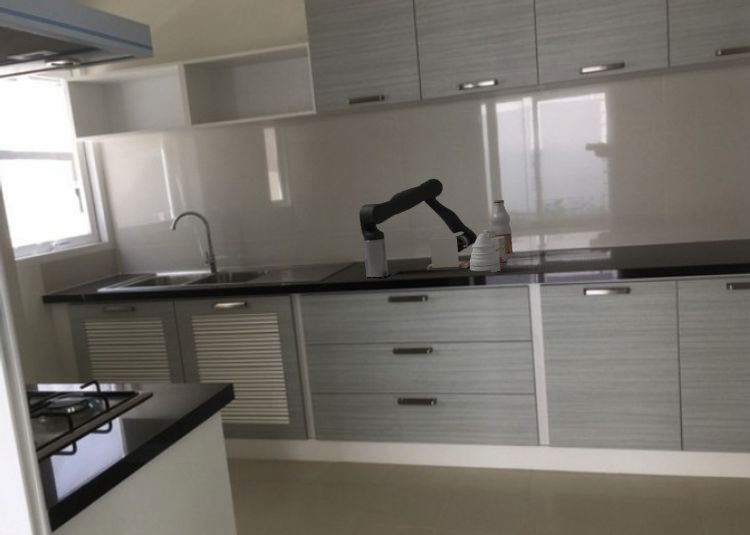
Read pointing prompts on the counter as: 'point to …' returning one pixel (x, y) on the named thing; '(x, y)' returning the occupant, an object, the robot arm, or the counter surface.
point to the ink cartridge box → (498, 245)
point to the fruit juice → (502, 226)
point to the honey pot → (484, 254)
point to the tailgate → (444, 253)
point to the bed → (461, 265)
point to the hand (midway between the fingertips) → (449, 248)
